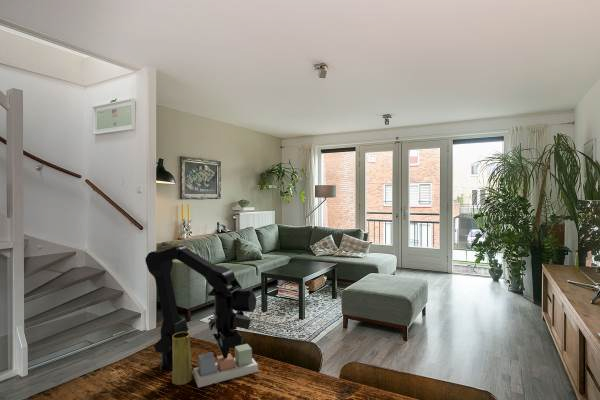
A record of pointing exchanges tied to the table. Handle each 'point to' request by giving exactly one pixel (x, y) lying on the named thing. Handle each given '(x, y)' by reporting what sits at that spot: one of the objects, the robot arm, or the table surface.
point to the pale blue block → (206, 364)
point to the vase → (181, 358)
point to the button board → (224, 374)
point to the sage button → (243, 355)
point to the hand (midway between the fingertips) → (225, 357)
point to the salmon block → (225, 362)
